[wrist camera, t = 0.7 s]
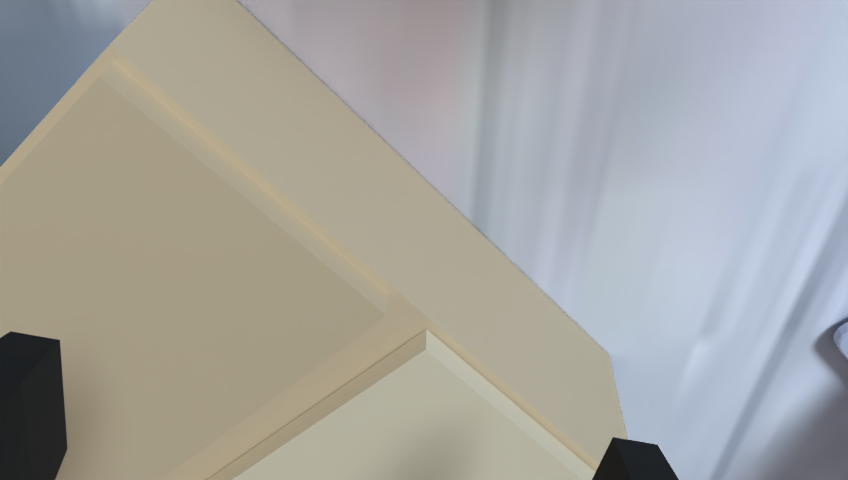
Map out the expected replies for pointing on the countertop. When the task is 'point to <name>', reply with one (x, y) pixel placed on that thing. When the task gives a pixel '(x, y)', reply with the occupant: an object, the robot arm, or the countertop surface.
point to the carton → (251, 258)
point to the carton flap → (412, 429)
